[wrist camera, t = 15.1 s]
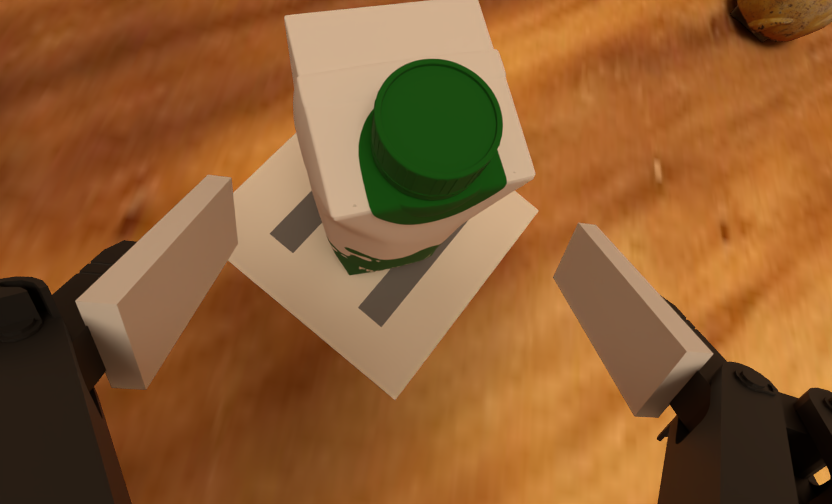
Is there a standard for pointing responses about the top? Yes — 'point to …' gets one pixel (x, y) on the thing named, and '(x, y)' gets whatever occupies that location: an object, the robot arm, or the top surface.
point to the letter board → (368, 292)
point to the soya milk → (402, 126)
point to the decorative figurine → (783, 17)
